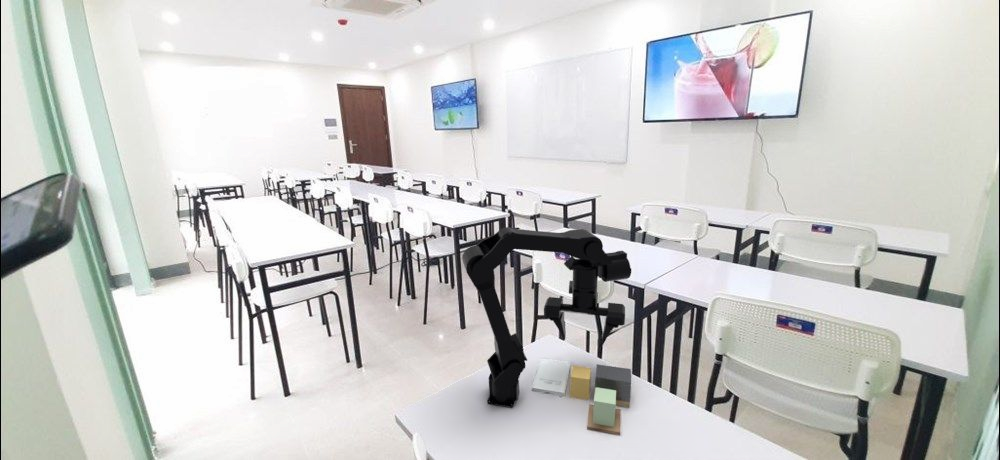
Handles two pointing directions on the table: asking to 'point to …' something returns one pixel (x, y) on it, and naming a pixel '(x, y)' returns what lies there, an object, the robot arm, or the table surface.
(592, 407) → the walnut pad
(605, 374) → the block
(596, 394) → the green part
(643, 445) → the table surface
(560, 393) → the external hard drive
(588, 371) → the ochre part
